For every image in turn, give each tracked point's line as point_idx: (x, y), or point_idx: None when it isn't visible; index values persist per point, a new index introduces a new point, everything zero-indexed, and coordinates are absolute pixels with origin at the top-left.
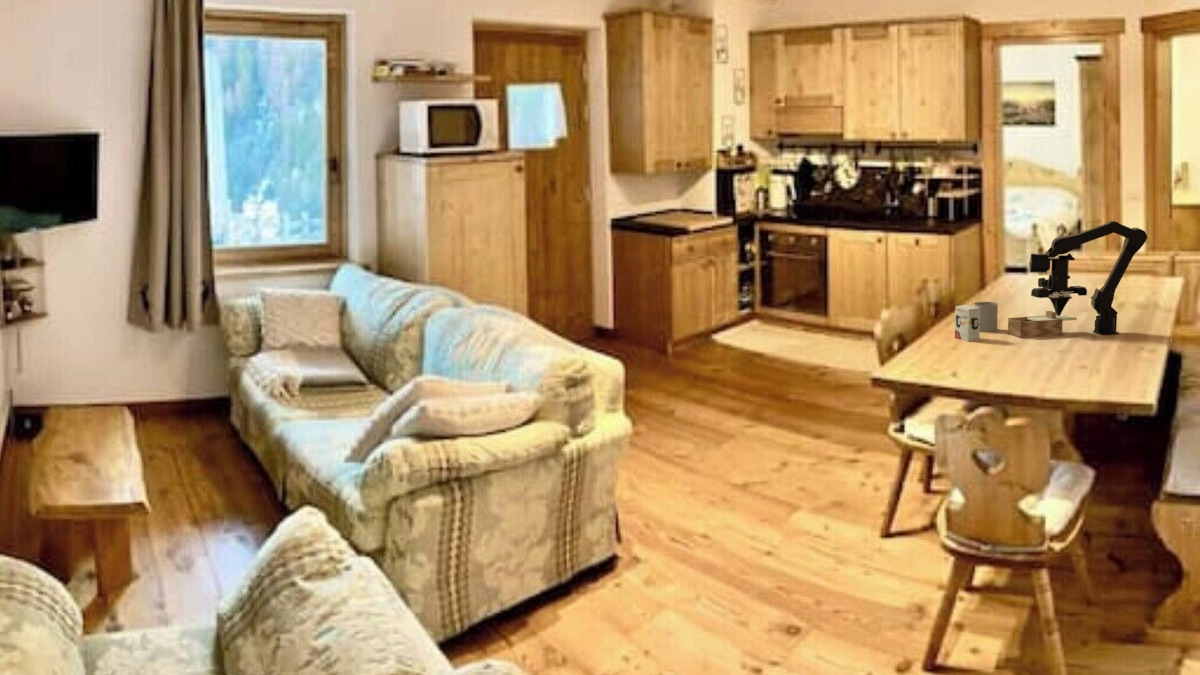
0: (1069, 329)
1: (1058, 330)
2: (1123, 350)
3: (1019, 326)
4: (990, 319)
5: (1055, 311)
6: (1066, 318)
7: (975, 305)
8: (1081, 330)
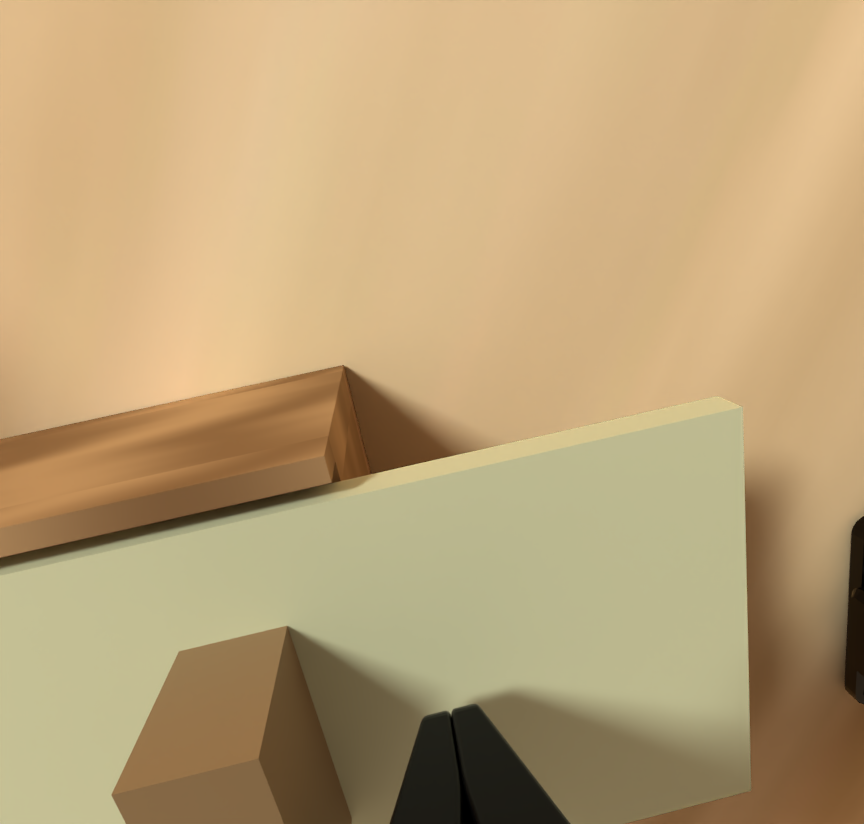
0: (685, 264)
1: None
2: None
3: None
4: None
5: (399, 813)
6: (560, 808)
7: None
8: (796, 371)
